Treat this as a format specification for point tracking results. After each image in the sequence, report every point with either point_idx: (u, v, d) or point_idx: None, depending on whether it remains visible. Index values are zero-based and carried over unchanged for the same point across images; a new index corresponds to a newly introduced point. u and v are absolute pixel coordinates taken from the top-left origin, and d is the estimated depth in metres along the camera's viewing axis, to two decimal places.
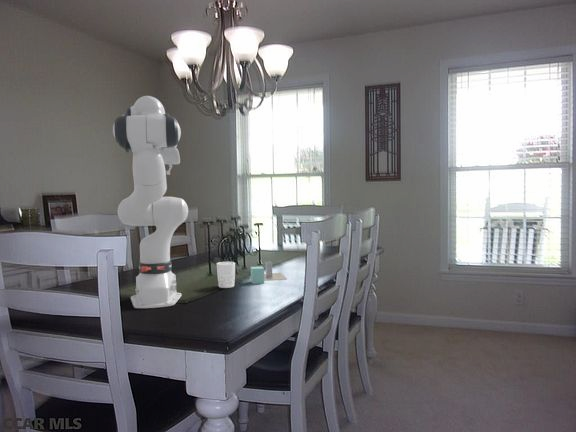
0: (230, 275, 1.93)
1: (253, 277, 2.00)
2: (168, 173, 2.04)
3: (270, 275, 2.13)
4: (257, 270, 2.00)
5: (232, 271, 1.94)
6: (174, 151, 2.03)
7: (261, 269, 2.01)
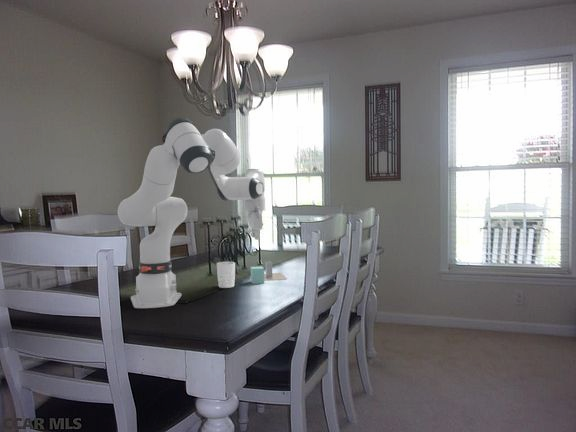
0: (230, 275, 1.93)
1: (253, 277, 2.00)
2: None
3: (270, 275, 2.13)
4: (257, 270, 2.00)
5: (232, 271, 1.94)
6: None
7: (261, 269, 2.01)
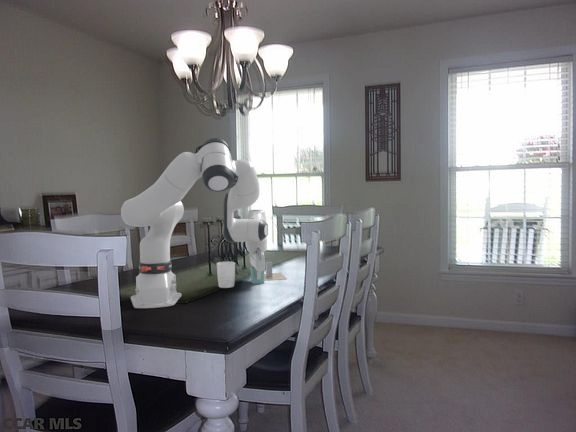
0: (230, 275, 1.93)
1: (253, 277, 2.00)
2: None
3: (270, 275, 2.13)
4: None
5: (232, 271, 1.94)
6: None
7: None
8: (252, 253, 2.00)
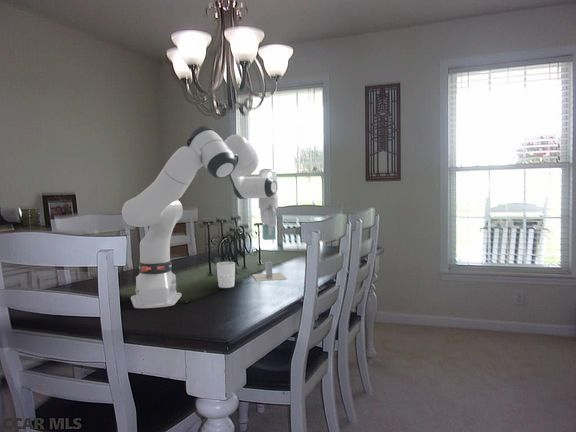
0: (230, 275, 1.93)
1: (265, 233, 2.10)
2: None
3: (270, 275, 2.13)
4: None
5: (232, 271, 1.94)
6: None
7: None
8: (264, 210, 2.10)
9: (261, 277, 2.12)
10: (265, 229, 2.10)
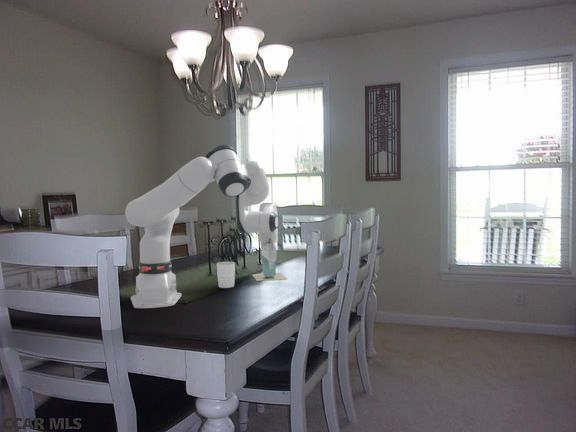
0: (230, 275, 1.93)
1: (265, 270, 2.11)
2: None
3: None
4: None
5: (232, 271, 1.94)
6: None
7: None
8: (264, 244, 2.11)
9: (261, 277, 2.12)
10: (265, 266, 2.11)
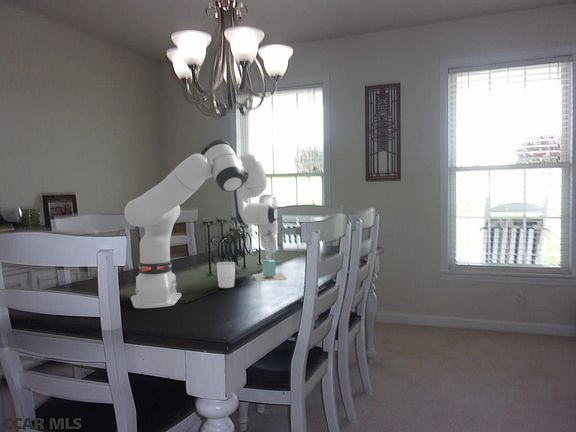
0: (230, 275, 1.93)
1: (265, 270, 2.11)
2: None
3: None
4: (269, 263, 2.11)
5: (232, 271, 1.94)
6: None
7: (273, 262, 2.12)
8: (264, 236, 2.11)
9: (261, 277, 2.12)
10: (265, 266, 2.11)
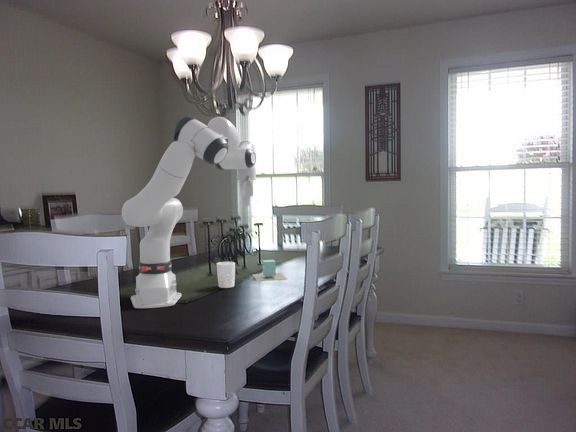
0: (230, 275, 1.93)
1: (265, 270, 2.11)
2: None
3: None
4: (269, 263, 2.11)
5: (232, 271, 1.94)
6: None
7: (273, 262, 2.12)
8: (242, 182, 2.15)
9: (261, 277, 2.12)
10: (265, 266, 2.11)
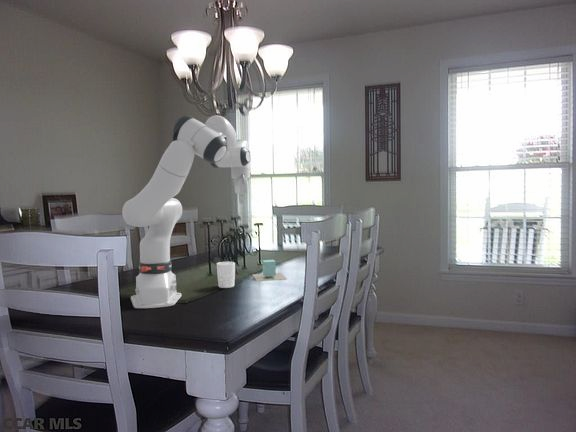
0: (230, 275, 1.93)
1: (265, 270, 2.11)
2: None
3: None
4: (269, 263, 2.11)
5: (232, 271, 1.94)
6: None
7: (273, 262, 2.12)
8: (236, 180, 2.17)
9: (261, 277, 2.12)
10: (265, 266, 2.11)
